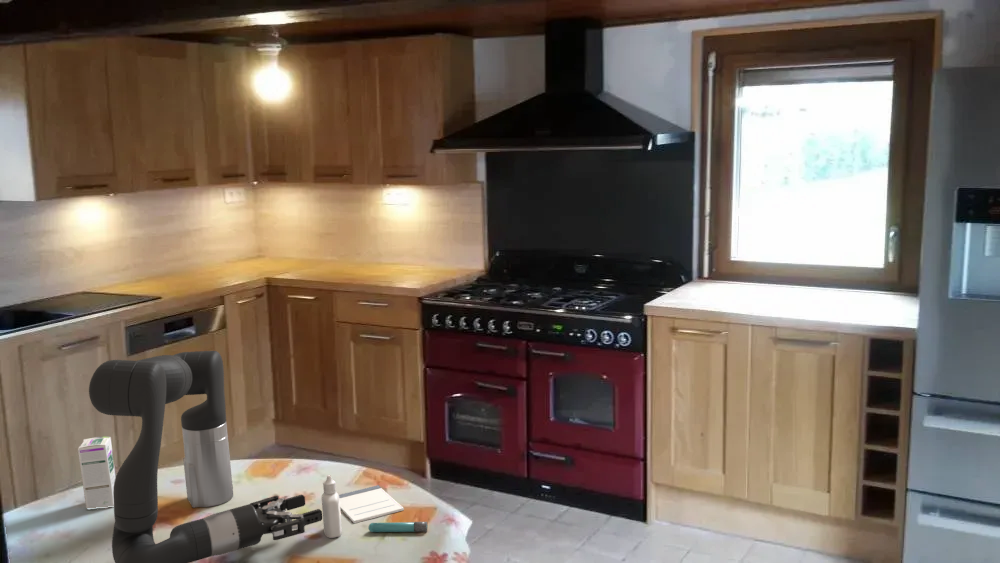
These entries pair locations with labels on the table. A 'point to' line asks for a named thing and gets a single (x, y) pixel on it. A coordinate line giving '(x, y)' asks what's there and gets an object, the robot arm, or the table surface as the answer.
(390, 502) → the notepad
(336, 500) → the white tapered bottle shape
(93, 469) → the syrup box
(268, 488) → the table surface
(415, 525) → the marker
